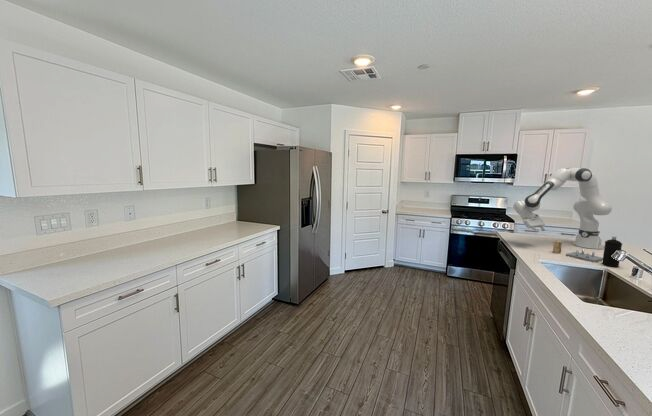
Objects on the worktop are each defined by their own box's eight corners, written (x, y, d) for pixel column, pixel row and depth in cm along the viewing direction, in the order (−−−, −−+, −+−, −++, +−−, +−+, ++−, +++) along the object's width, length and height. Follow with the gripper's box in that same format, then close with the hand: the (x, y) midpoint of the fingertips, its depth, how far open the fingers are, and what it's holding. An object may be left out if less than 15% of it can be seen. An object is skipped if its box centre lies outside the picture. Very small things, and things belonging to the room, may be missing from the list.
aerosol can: (616, 268, 176) (620, 238, 174) (599, 264, 183) (603, 236, 181) (621, 266, 180) (625, 237, 177) (604, 262, 187) (608, 234, 185)
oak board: (556, 252, 212) (557, 241, 211) (560, 253, 210) (562, 241, 209) (552, 252, 210) (553, 241, 209) (557, 253, 208) (558, 242, 207)
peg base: (575, 253, 208) (576, 247, 208) (604, 260, 193) (605, 253, 192) (565, 255, 203) (566, 249, 202) (595, 262, 187) (596, 255, 187)
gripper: (524, 216, 220) (536, 230, 213) (539, 214, 229) (551, 228, 221) (518, 220, 225) (530, 234, 217) (532, 219, 233) (544, 232, 226)
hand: (540, 231), depth 219 cm, fingers open, 8 cm apart
